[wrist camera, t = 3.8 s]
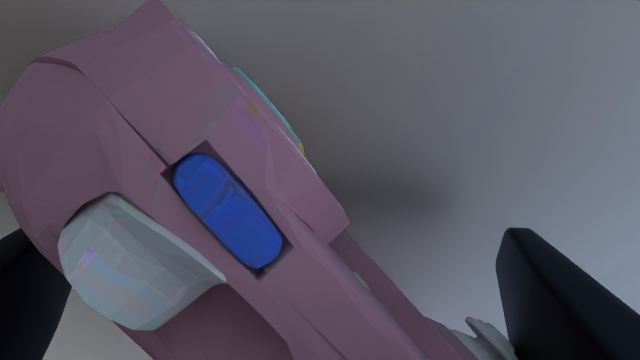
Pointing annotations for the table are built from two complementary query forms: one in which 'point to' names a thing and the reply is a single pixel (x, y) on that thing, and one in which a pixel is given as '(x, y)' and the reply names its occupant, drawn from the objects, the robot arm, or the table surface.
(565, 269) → the robot arm
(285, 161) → the video game controller
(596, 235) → the table surface
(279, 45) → the table surface
